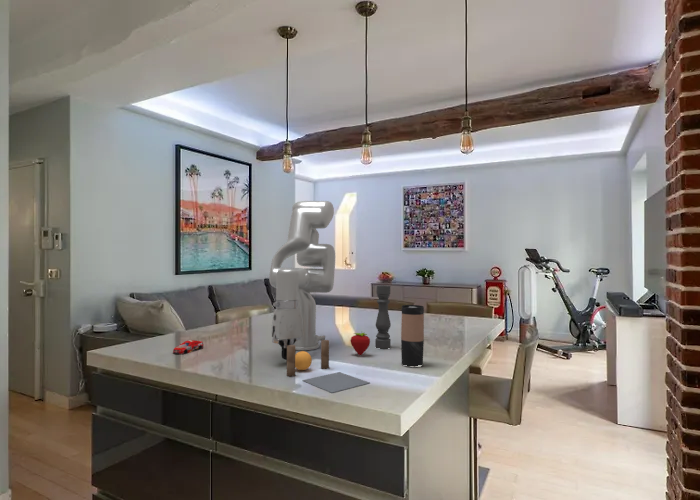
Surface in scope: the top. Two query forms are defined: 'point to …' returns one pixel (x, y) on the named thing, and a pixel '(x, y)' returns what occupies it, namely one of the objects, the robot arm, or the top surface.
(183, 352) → the race car
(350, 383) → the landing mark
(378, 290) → the candle holder
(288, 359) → the post
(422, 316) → the travel mug
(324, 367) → the post
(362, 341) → the strawberry
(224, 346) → the top surface
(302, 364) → the ball
